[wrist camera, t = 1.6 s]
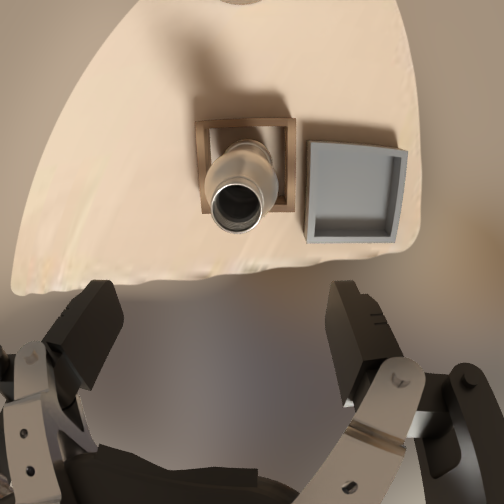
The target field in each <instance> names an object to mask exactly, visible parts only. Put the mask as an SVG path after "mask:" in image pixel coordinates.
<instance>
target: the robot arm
mask: <svg viewBox="0 0 504 504" xmlns="http://www.w3.org/2000/svg"><path fill="white" fill-rule="evenodd" d="M221 1H223V2H226V3H229V4H235V5H245V4H252V3H256V2H258V1H261V0H221ZM123 322H124V315H123V311H122V308H121V305H120V303H119V300H118V297H117V294H116V291H115V288H114V285H113V283H112V282H111V281H110V280H92V281H91V282H90V283H89V284H88V285H87V286H86V288H85V289H84V290H83V291H82V292H81V293H80V294H79V295H77V296H76V297H75V298H73V299H72V300H71V302H70V303H69V304H68V305H67V307H66V310H64V311H63V312H62V313H61V316H60V317H58V319H57V320H56V321H55V323H54V324H53V326H52V327H51V328H50V330H49V331H48V332H47V334H46V335H45V337H44V338H43V340H42V341H41V342H40V341H31V342H28V343H26V344H25V345H23V346H22V347H21V348H20V349H19V351H18V352H17V354H9V355H7V354H6V353H5V351H4V350H3V348H2V347H1V345H0V393H1V394H2V395H3V396H4V397H5V398H6V402H5V404H4V406H3V409H2V411H1V413H0V504H380V503H381V502H382V500H383V498H384V496H385V495H386V493H387V491H388V489H389V487H390V485H391V483H392V482H393V480H394V478H395V476H396V474H397V472H398V470H399V467H400V465H401V463H402V461H403V458H404V456H405V453H406V446H404V442H405V439H406V437H414V441H415V446H416V450H417V455H418V460H419V464H420V470H421V475H422V481H423V487H424V493H425V500H426V504H504V417H503V415H502V412H501V410H500V407H499V405H498V403H497V400H496V398H495V396H494V394H493V391H492V389H491V387H490V385H489V383H488V381H487V379H486V377H485V375H484V373H483V372H482V371H481V370H480V369H479V368H478V367H477V366H475V365H473V364H470V363H460V364H458V365H456V366H455V367H454V368H453V369H452V371H451V373H450V374H449V375H446V374H432V373H425V372H424V371H423V369H422V368H421V367H420V365H419V364H418V363H416V362H415V361H413V360H411V359H409V358H406V357H404V356H403V353H402V351H401V349H400V347H399V345H398V343H397V341H396V338H395V336H394V334H393V332H392V330H391V328H390V326H389V324H387V320H386V318H385V316H384V315H383V312H382V310H381V308H380V306H379V304H378V303H377V302H376V301H375V300H374V299H373V298H372V297H370V296H369V295H368V294H360V292H359V290H358V288H357V286H356V284H355V282H354V281H353V280H347V281H332V282H331V285H330V292H329V297H328V303H327V309H326V315H325V330H326V335H327V339H328V343H329V347H330V351H331V355H332V359H333V363H334V368H335V372H336V376H337V381H338V385H339V389H340V394H341V399H342V404H343V407H349V406H354V408H355V412H356V414H355V415H354V417H353V419H352V421H351V423H350V424H349V425H348V427H347V429H346V430H345V432H344V433H343V435H342V437H341V438H340V440H339V441H338V443H337V444H336V446H335V447H334V449H333V451H332V452H331V453H330V455H329V456H328V458H327V459H326V460H325V462H324V463H323V465H322V466H321V467H320V469H319V470H318V471H317V473H316V474H315V476H314V477H313V478H312V480H311V481H310V482H309V483H308V485H307V486H306V487H305V488H304V489H303V491H302V492H301V493H299V492H297V491H296V490H294V489H293V488H290V487H289V486H287V485H285V484H283V483H280V482H278V481H275V480H271V479H269V478H265V477H261V476H258V469H247V468H246V469H245V468H224V467H208V468H199V469H188V470H174V471H173V470H167V469H164V468H162V467H160V466H157V465H155V464H153V463H151V462H149V461H147V460H145V459H143V458H140V457H138V456H137V455H135V454H133V453H129V452H126V451H122V450H118V449H115V448H111V447H108V446H105V445H102V444H99V447H97V445H96V444H95V442H94V440H93V439H92V436H91V434H90V430H89V427H88V424H87V421H86V417H85V414H84V410H83V406H82V403H81V398H80V396H79V394H78V393H77V392H78V390H79V388H82V389H86V390H90V391H91V390H92V388H93V386H94V383H95V381H96V379H97V377H98V375H99V373H100V371H101V368H102V366H103V364H104V362H105V360H106V358H107V356H108V354H109V352H110V350H111V348H112V346H113V344H114V342H115V340H116V338H117V336H118V334H119V332H120V330H121V329H122V327H123ZM11 481H12V486H13V488H12V487H10V483H11Z"/></svg>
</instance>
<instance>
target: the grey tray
mask: <svg viewBox="0 0 504 504" xmlns="http://www.w3.org/2000/svg"><path fill="white" fill-rule="evenodd" d="M407 158H408V151H406V150H403V149H400V148H394V147H387V146H378V145H369V144H359V143H348V142H334V141H315V140H307V165H306V197H305V220H304V237H305V240H306V243H395V240H396V235H397V230H398V224H399V219H400V213H401V207H402V200H403V193H404V186H405V177H406V168H407Z"/></svg>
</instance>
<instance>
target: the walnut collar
mask: <svg viewBox="0 0 504 504" xmlns="http://www.w3.org/2000/svg"><path fill="white" fill-rule="evenodd" d="M247 126H285V196H277V199H276V201H275V204H274V206H273V207H272V208H271V210H270V211H269V212H295V185H296V118H243V119H223V120H208V121H197V122H195V131H196V147H197V161H198V174H199V186H200V197H201V208H202V214H211V208H210V206H209V204H208V201H207V198H206V195H205V186H204V185H205V178H206V175H207V172H208V170H209V168H210V167H211V151H210V133H209V128H224V127H247Z"/></svg>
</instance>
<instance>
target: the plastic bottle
mask: <svg viewBox="0 0 504 504" xmlns="http://www.w3.org/2000/svg"><path fill="white" fill-rule="evenodd" d="M204 186H205V195H206V198H207V201H208V204H209V206H210V208H211V215H212V218H213V220H214V222H215V223H216V224H217V225H218V226H219V227H220V228H221V229H222V230H224V231H226V232H229V233H233V234H241V233H245V232H248V231H250V230H251V229H253V228H254V227H255V226H256V225H257V224H258V222H259V221H260V219H261V218H263V217H264V216H265V215H266V214H267V213H268V212H269V211H270V210H271V208H272V207H273V206H274V204H275V201H276V199H277V195H278V179H277V175H276V173H275V170H274V169H273V167H272V157H271V155H270V152H269V151H268V149H267V148H266V147H265V146H264V145H263V144H261V143H260V142H258V141H255V140H251V139H243V140H239V141H237V142H234V143H233V144H232V145H230V146H229V147H228V148H227V150H226V151H225V153H224V155H222V156H221V157H219V158H218V159H217V160H216V161H215V162H214V163H213V164H212V165H211V167H210V168H209V170H208V172H207V175H206V178H205V185H204Z"/></svg>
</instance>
